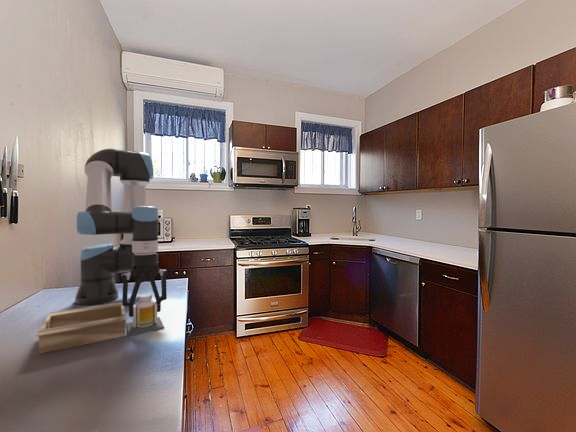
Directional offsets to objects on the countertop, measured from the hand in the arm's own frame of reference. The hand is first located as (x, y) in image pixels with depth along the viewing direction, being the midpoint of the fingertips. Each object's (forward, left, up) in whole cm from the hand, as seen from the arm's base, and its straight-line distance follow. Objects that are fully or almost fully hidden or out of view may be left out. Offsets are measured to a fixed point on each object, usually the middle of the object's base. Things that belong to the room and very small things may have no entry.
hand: (144, 323), depth 89 cm
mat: (0, 0, -1) cm, 1 cm away
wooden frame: (-2, -15, -1) cm, 16 cm away
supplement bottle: (0, 0, 0) cm, 1 cm away
